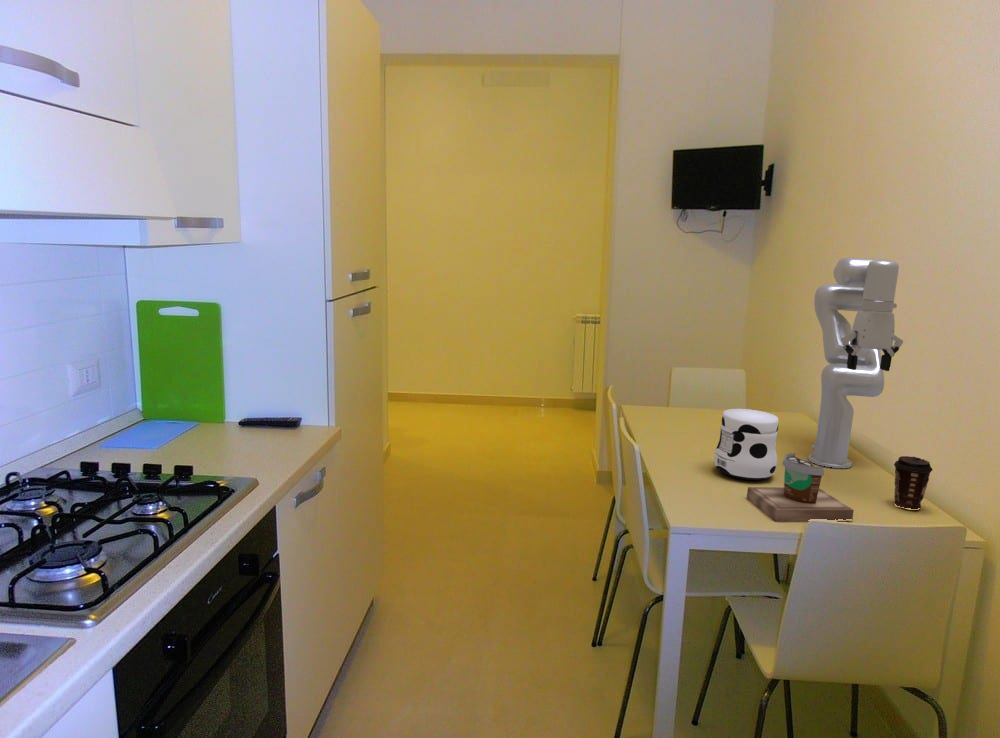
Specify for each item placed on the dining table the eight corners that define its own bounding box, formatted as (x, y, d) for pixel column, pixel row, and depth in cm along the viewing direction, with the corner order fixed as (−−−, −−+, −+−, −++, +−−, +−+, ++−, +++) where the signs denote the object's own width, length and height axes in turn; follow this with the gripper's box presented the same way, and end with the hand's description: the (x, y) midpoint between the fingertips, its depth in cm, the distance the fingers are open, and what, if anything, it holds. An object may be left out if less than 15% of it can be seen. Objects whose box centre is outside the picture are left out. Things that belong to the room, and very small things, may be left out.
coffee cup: (914, 501, 197) (921, 455, 195) (933, 513, 189) (941, 465, 186) (882, 500, 197) (889, 454, 194) (900, 512, 189) (907, 464, 186)
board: (746, 497, 193) (747, 486, 193) (817, 498, 196) (818, 487, 195) (775, 521, 178) (777, 509, 177) (852, 521, 180) (853, 509, 180)
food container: (768, 489, 191) (773, 452, 190) (789, 488, 193) (794, 452, 191) (797, 506, 180) (803, 468, 178) (819, 505, 181) (824, 467, 179)
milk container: (779, 473, 216) (787, 414, 213) (768, 489, 201) (776, 426, 198) (721, 461, 225) (727, 404, 221) (706, 476, 210) (712, 415, 207)
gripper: (897, 306, 200) (888, 368, 203) (838, 304, 198) (830, 366, 201) (916, 309, 192) (906, 373, 195) (855, 307, 190) (846, 371, 193)
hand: (867, 369), depth 198 cm, fingers open, 9 cm apart
